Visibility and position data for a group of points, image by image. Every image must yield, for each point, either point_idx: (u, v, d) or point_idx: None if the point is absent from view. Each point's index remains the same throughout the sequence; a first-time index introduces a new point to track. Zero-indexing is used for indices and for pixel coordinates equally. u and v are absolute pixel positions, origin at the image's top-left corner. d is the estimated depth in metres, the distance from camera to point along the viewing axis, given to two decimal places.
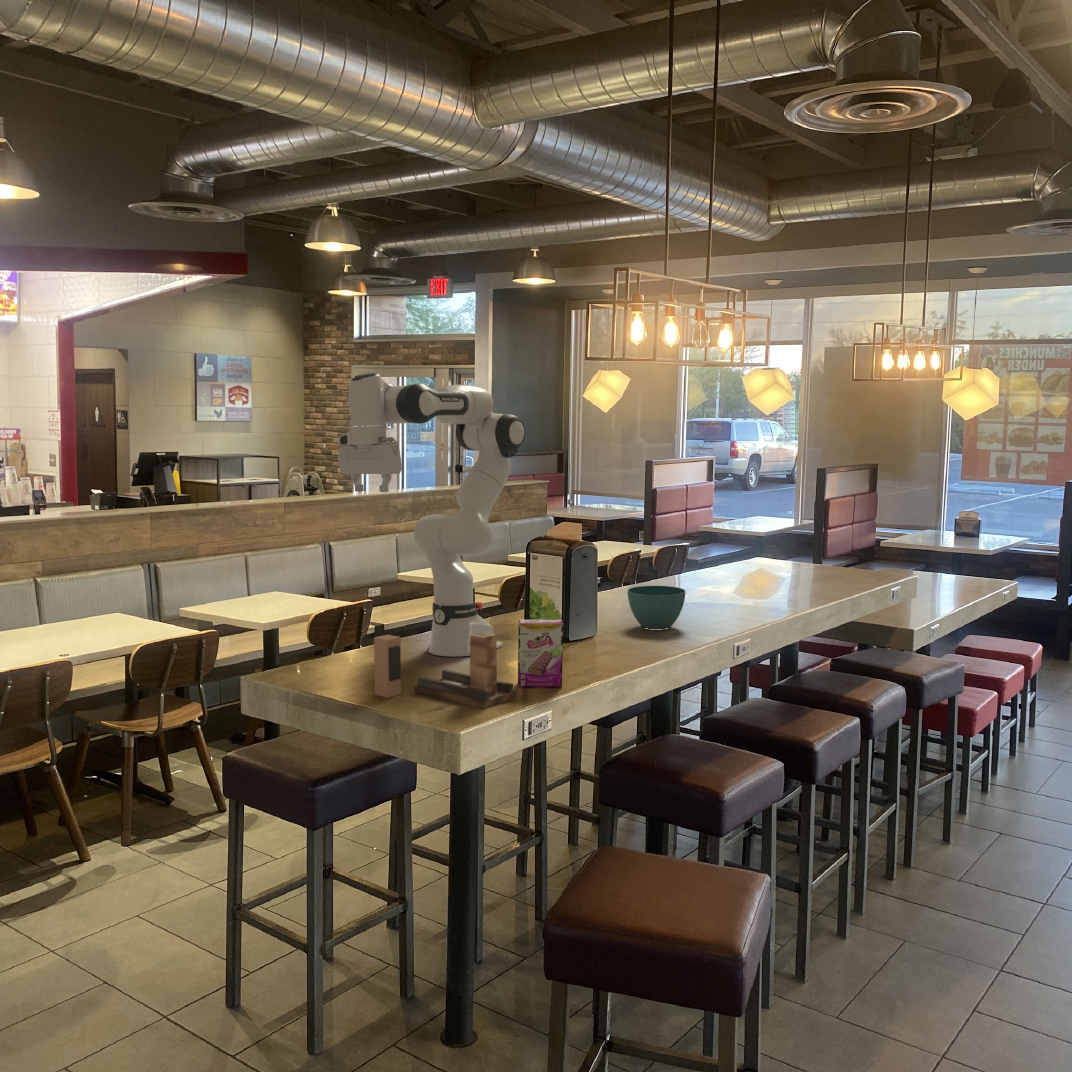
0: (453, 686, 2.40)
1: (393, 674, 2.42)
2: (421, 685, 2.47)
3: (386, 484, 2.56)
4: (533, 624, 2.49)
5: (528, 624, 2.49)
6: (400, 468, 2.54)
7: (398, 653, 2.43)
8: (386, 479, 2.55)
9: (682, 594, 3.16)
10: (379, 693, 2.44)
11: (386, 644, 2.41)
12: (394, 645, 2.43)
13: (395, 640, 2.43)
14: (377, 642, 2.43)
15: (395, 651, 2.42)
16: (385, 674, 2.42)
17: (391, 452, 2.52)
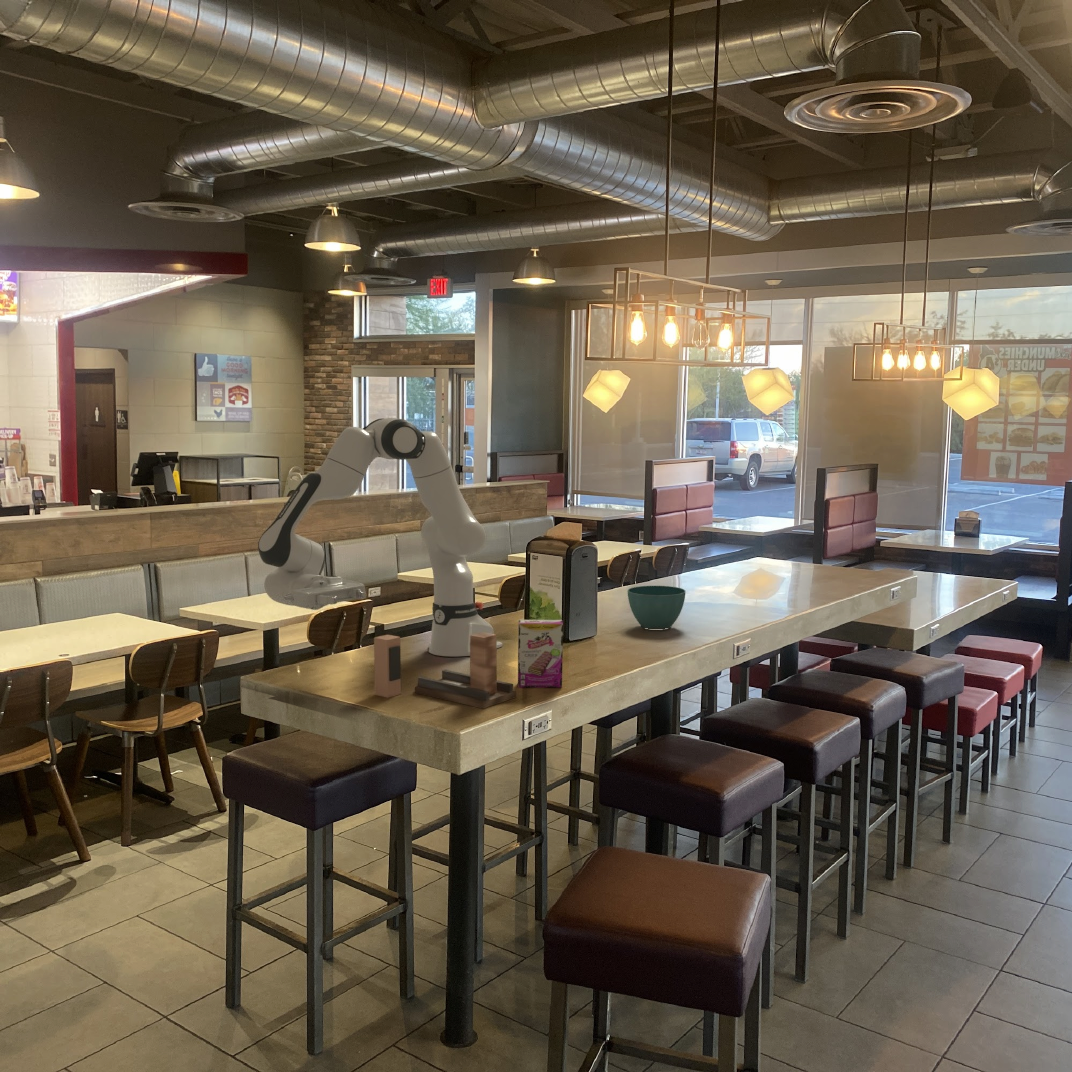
0: (453, 686, 2.40)
1: (393, 674, 2.42)
2: (421, 685, 2.47)
3: (326, 600, 2.47)
4: (533, 624, 2.49)
5: (528, 624, 2.49)
6: (301, 596, 2.46)
7: (398, 653, 2.43)
8: (320, 602, 2.48)
9: (682, 594, 3.16)
10: (379, 693, 2.44)
11: (386, 644, 2.41)
12: (394, 645, 2.43)
13: (395, 640, 2.43)
14: (377, 642, 2.43)
15: (395, 651, 2.42)
16: (385, 674, 2.42)
17: (292, 603, 2.50)
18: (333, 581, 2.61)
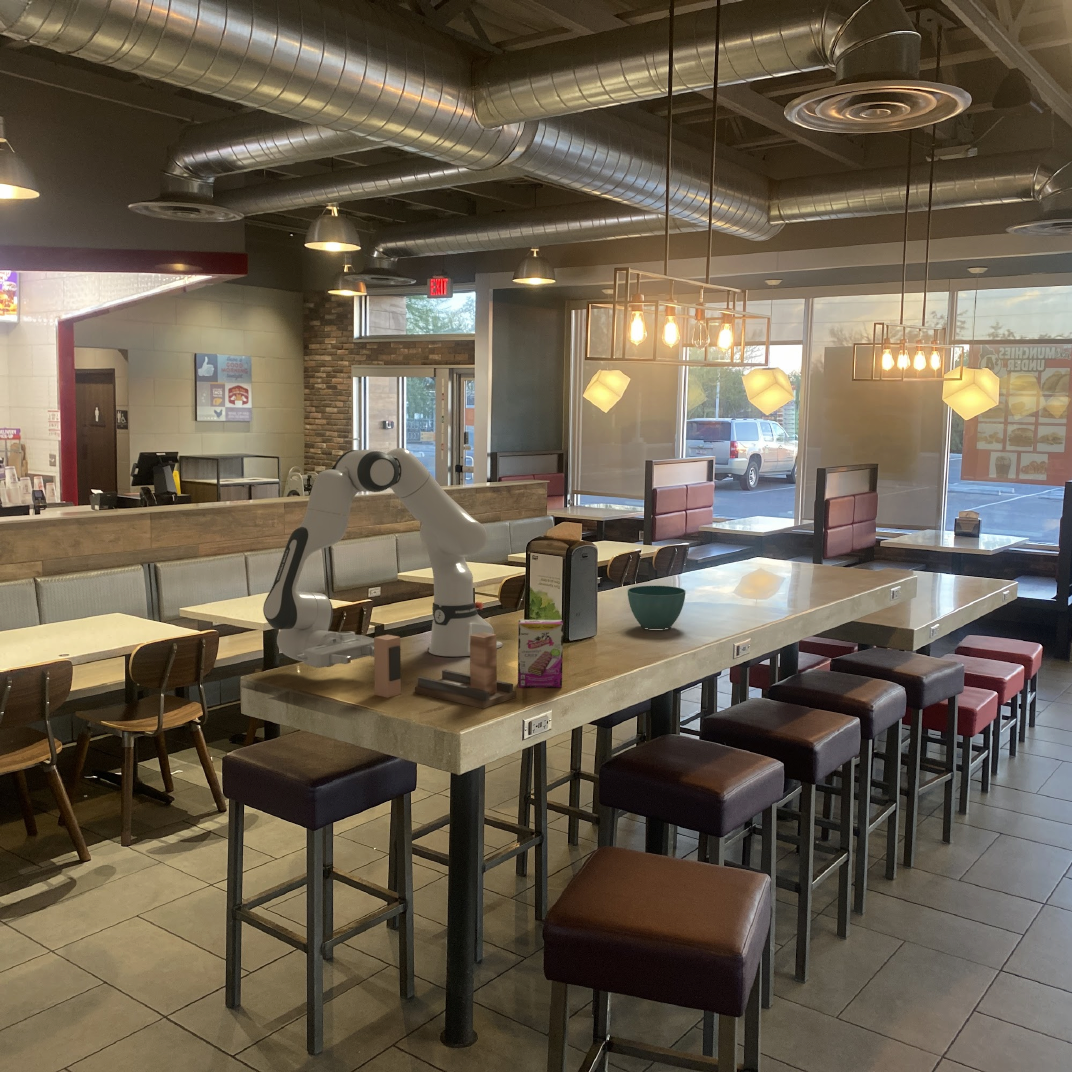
0: (453, 686, 2.40)
1: (393, 674, 2.42)
2: (421, 685, 2.47)
3: (340, 659, 2.46)
4: (533, 624, 2.49)
5: (528, 624, 2.49)
6: (315, 656, 2.45)
7: (398, 653, 2.43)
8: (334, 661, 2.47)
9: (682, 594, 3.16)
10: (379, 693, 2.44)
11: (386, 644, 2.41)
12: (394, 645, 2.43)
13: (395, 640, 2.43)
14: (377, 642, 2.43)
15: (395, 651, 2.42)
16: (385, 674, 2.42)
17: (305, 662, 2.49)
18: (346, 637, 2.59)
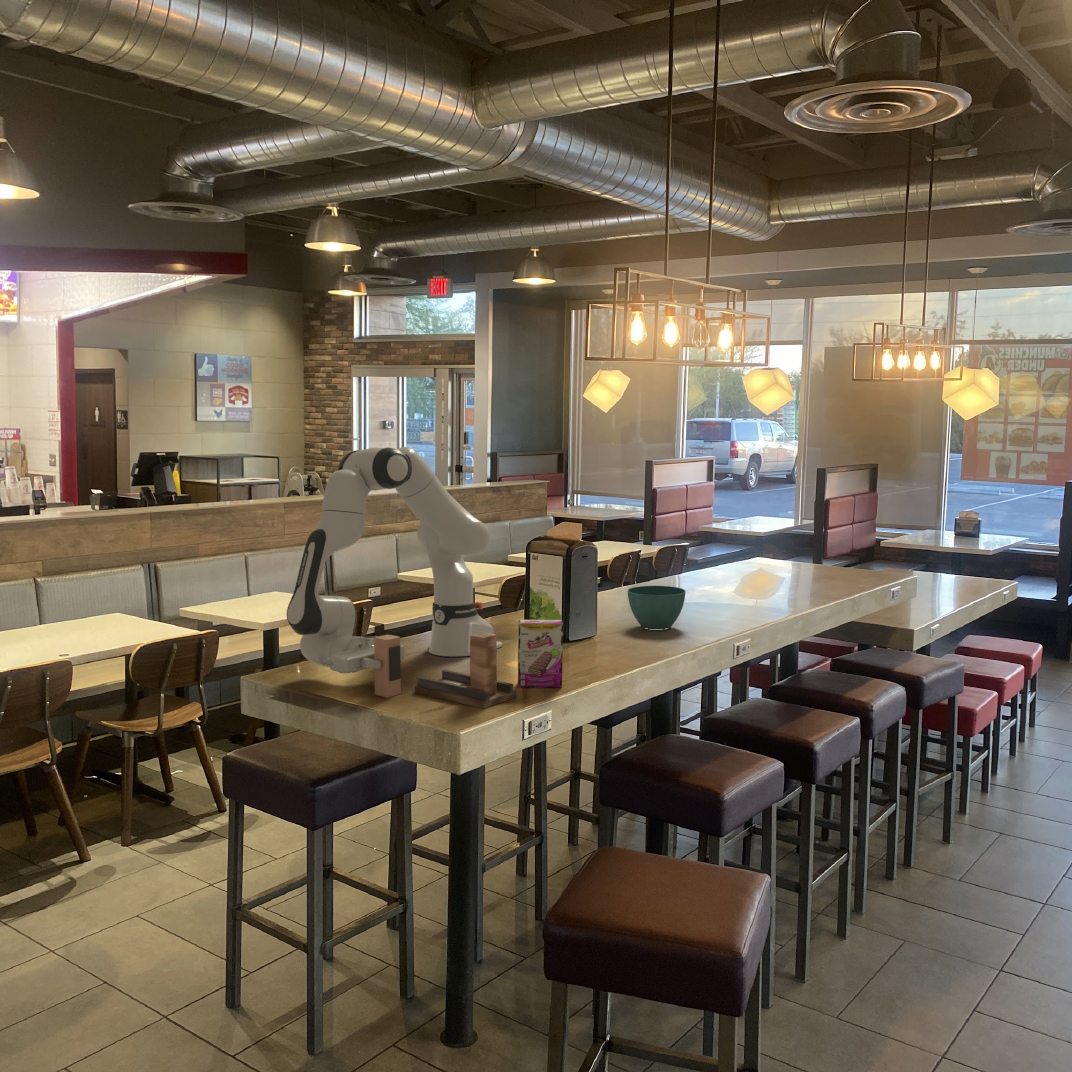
0: (453, 686, 2.40)
1: (393, 674, 2.42)
2: (421, 685, 2.47)
3: (372, 663, 2.42)
4: (533, 624, 2.49)
5: (528, 624, 2.49)
6: (341, 662, 2.39)
7: (398, 653, 2.43)
8: (366, 665, 2.42)
9: (682, 594, 3.16)
10: (379, 693, 2.44)
11: (386, 644, 2.41)
12: (394, 645, 2.43)
13: (395, 640, 2.43)
14: (377, 642, 2.43)
15: (395, 651, 2.42)
16: (385, 674, 2.42)
17: (331, 668, 2.43)
18: (372, 642, 2.54)
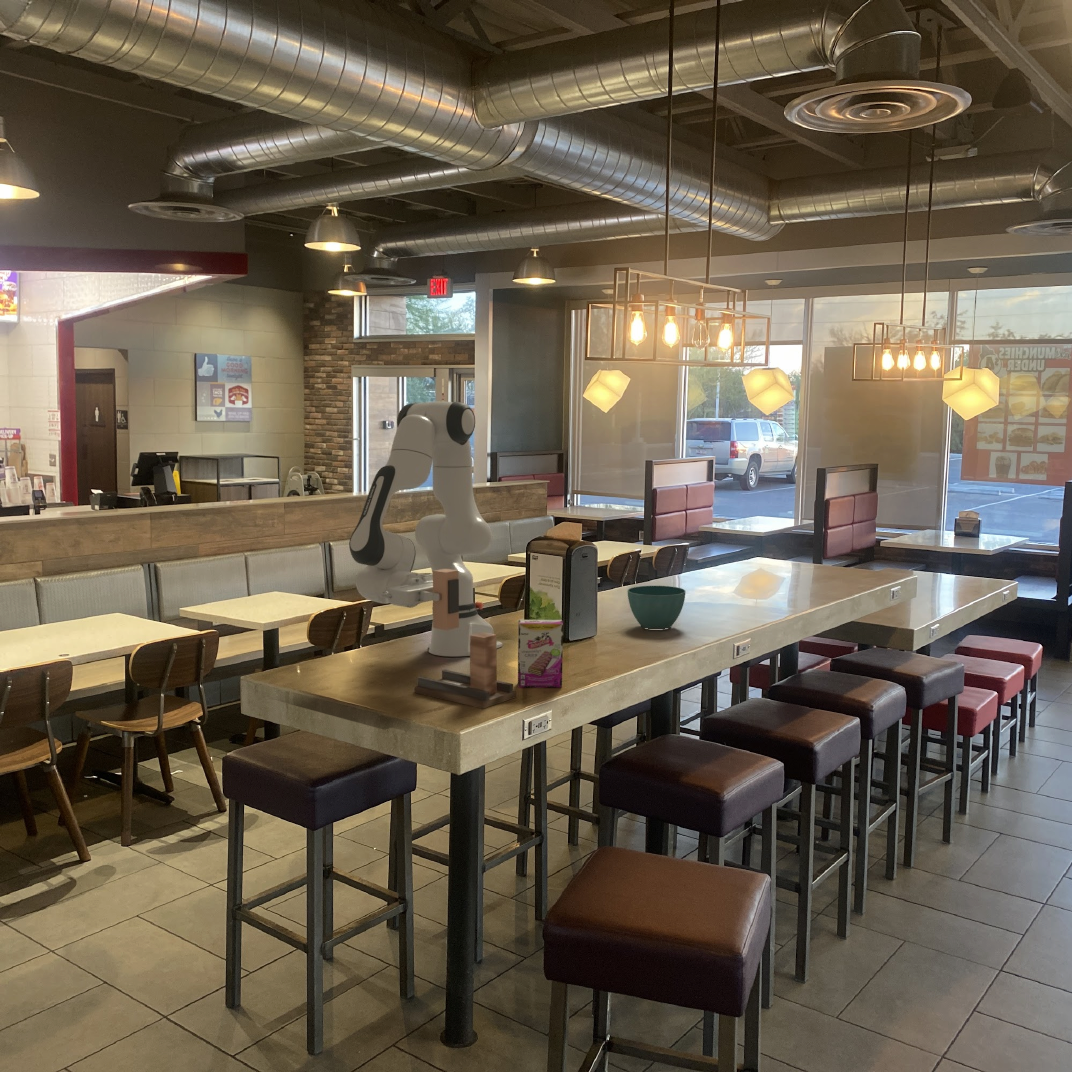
0: (453, 686, 2.40)
1: (452, 607, 2.44)
2: (421, 685, 2.47)
3: (431, 596, 2.43)
4: (533, 624, 2.49)
5: (528, 624, 2.49)
6: (401, 594, 2.41)
7: (456, 586, 2.44)
8: (425, 598, 2.44)
9: (682, 594, 3.16)
10: (437, 626, 2.45)
11: (445, 577, 2.42)
12: (453, 578, 2.44)
13: (454, 573, 2.44)
14: (436, 575, 2.44)
15: (454, 584, 2.44)
16: (444, 607, 2.43)
17: (390, 601, 2.44)
18: (428, 578, 2.55)
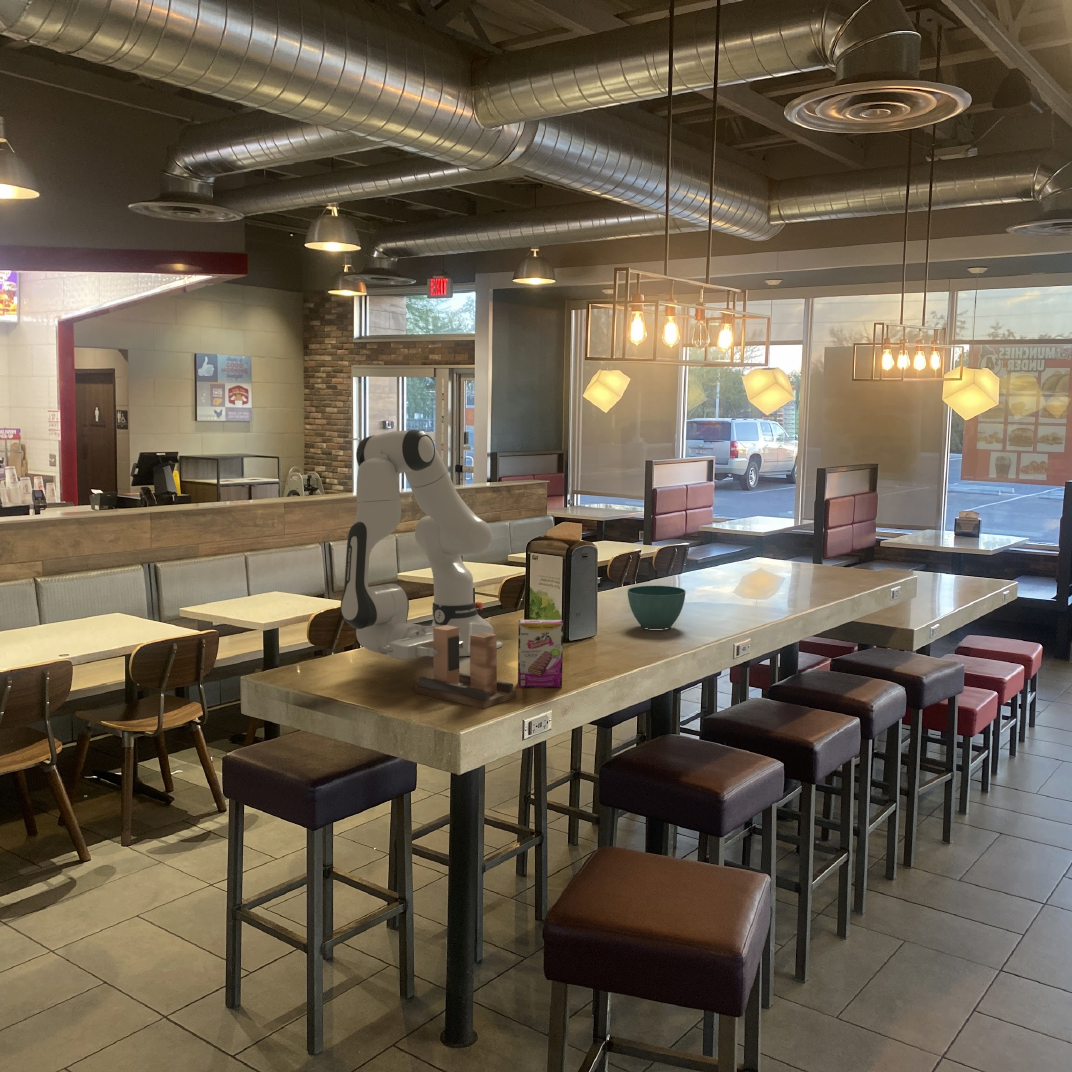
0: (453, 686, 2.40)
1: (452, 664, 2.45)
2: (421, 685, 2.47)
3: (426, 651, 2.43)
4: (533, 624, 2.49)
5: (528, 624, 2.49)
6: (401, 649, 2.42)
7: (457, 643, 2.46)
8: (420, 654, 2.44)
9: (682, 594, 3.16)
10: None
11: (446, 634, 2.44)
12: (453, 635, 2.46)
13: (454, 630, 2.46)
14: (436, 632, 2.46)
15: (454, 641, 2.45)
16: (444, 664, 2.45)
17: (391, 655, 2.45)
18: (429, 630, 2.56)
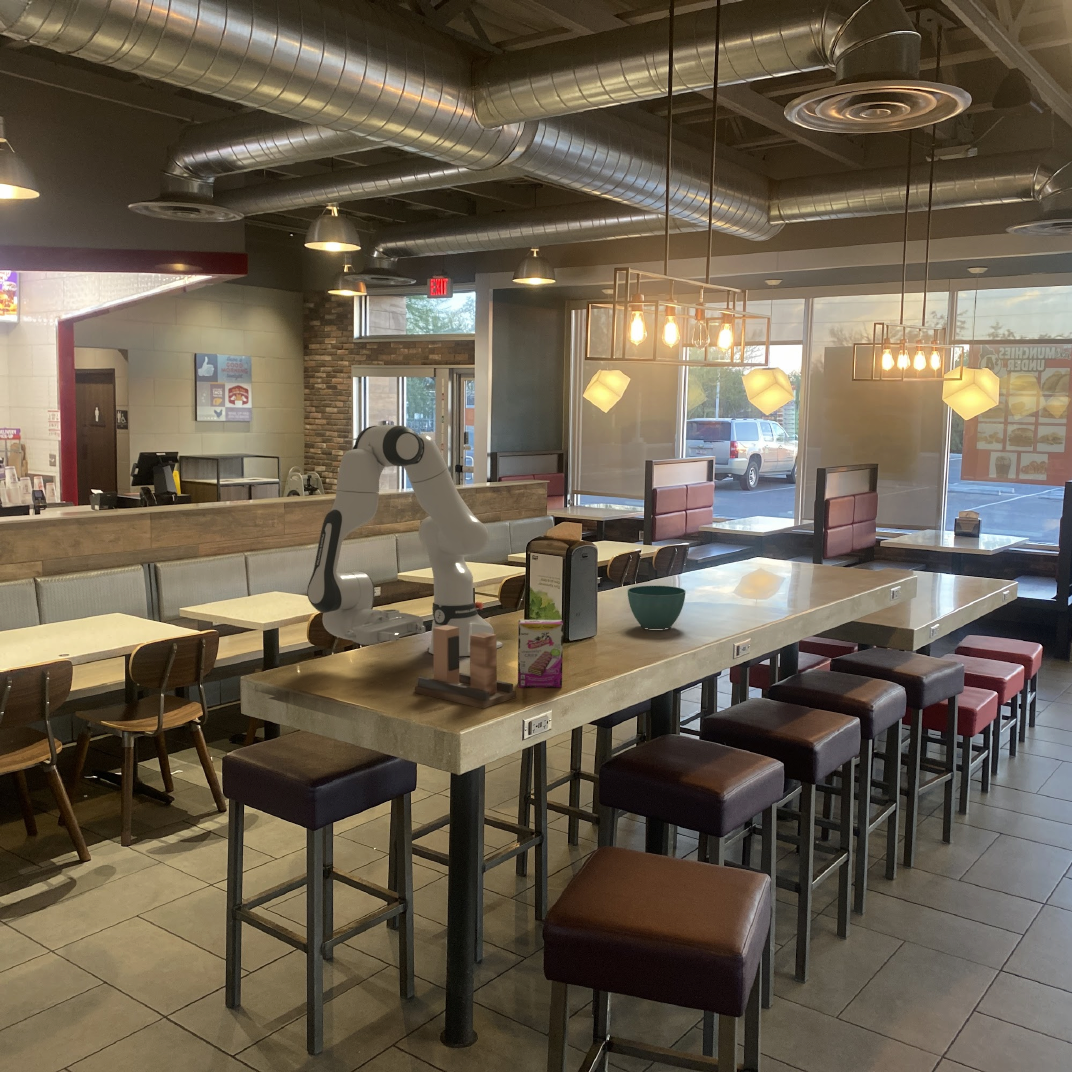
0: (453, 686, 2.40)
1: (452, 664, 2.45)
2: (421, 685, 2.47)
3: (388, 636, 2.52)
4: (533, 624, 2.49)
5: (528, 624, 2.49)
6: (364, 634, 2.50)
7: (457, 643, 2.46)
8: (382, 639, 2.52)
9: (682, 594, 3.16)
10: None
11: (446, 634, 2.44)
12: (453, 635, 2.46)
13: (454, 630, 2.46)
14: (436, 632, 2.46)
15: (454, 641, 2.45)
16: (444, 664, 2.45)
17: (354, 640, 2.54)
18: (392, 615, 2.64)
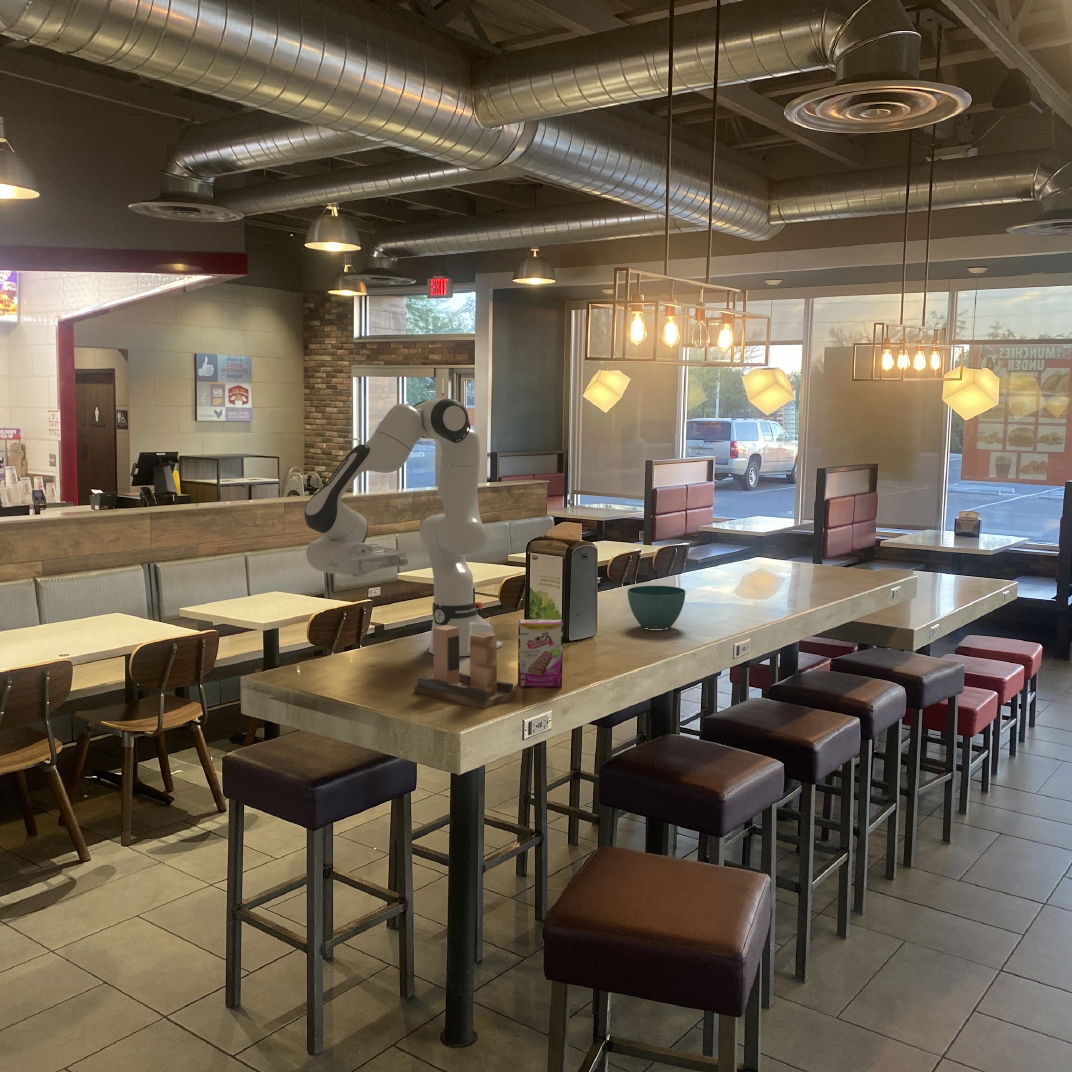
0: (453, 686, 2.40)
1: (452, 664, 2.45)
2: (421, 685, 2.47)
3: (370, 565, 2.50)
4: (533, 624, 2.49)
5: (528, 624, 2.49)
6: (345, 562, 2.49)
7: (457, 643, 2.46)
8: (364, 568, 2.50)
9: (682, 594, 3.16)
10: None
11: (446, 634, 2.44)
12: (453, 635, 2.46)
13: (454, 630, 2.46)
14: (436, 632, 2.46)
15: (454, 641, 2.45)
16: (444, 664, 2.45)
17: (336, 569, 2.52)
18: (375, 549, 2.63)
